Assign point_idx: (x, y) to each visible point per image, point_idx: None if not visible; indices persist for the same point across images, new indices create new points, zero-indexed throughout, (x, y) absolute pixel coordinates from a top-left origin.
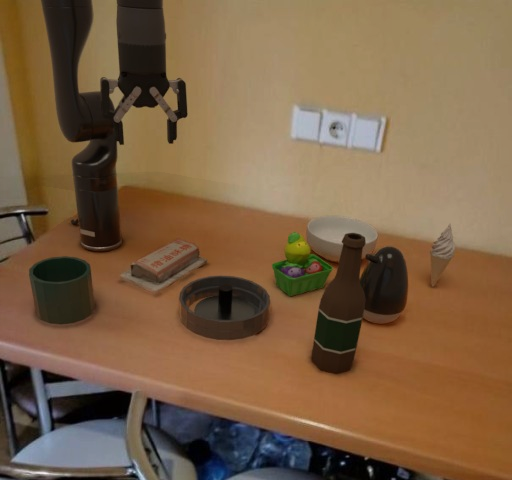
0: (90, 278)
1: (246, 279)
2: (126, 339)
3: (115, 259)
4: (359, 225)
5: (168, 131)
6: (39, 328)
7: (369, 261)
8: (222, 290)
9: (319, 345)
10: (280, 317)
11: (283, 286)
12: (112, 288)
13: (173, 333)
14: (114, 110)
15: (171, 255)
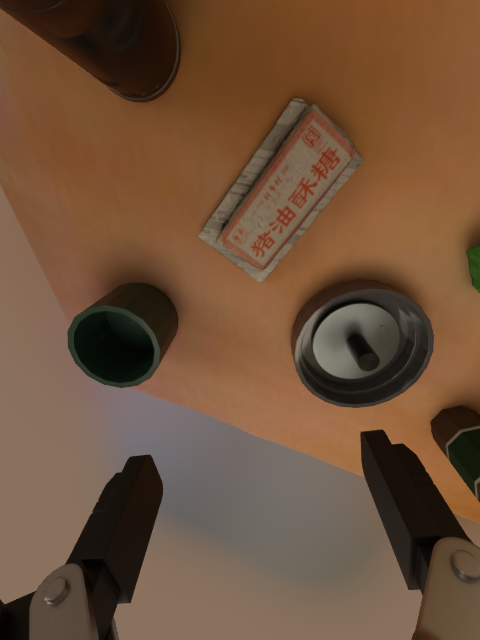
0: (163, 348)
1: (413, 302)
2: (225, 377)
3: (179, 138)
4: None
5: (382, 503)
6: None
7: None
8: (361, 369)
9: (447, 453)
10: None
11: (475, 275)
12: (191, 256)
13: (280, 368)
14: (29, 635)
15: (292, 206)
